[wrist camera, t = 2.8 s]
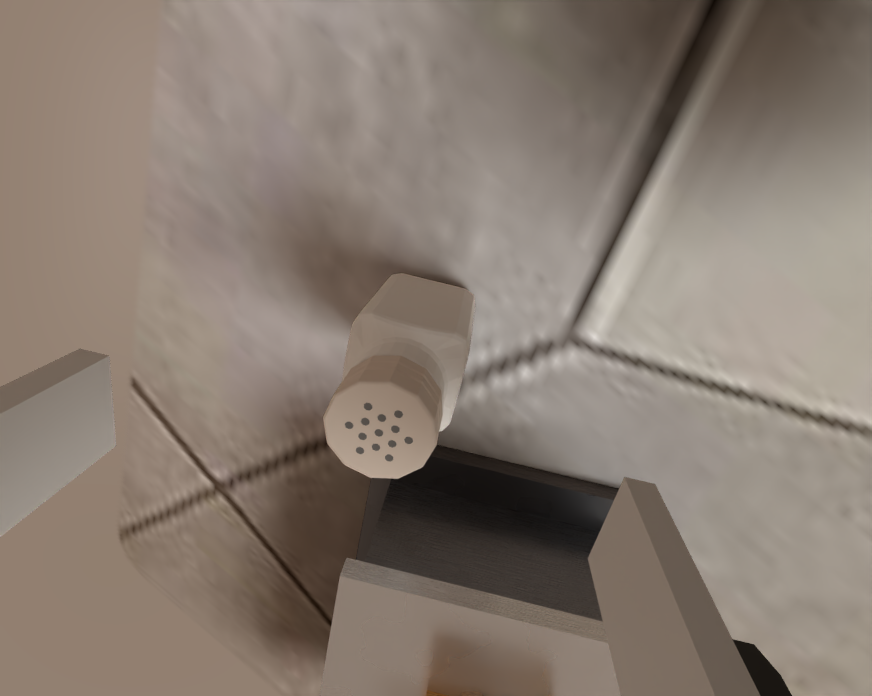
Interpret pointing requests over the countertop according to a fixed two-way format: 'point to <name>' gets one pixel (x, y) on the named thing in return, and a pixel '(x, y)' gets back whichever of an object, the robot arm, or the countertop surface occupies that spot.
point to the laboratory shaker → (473, 586)
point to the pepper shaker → (400, 376)
